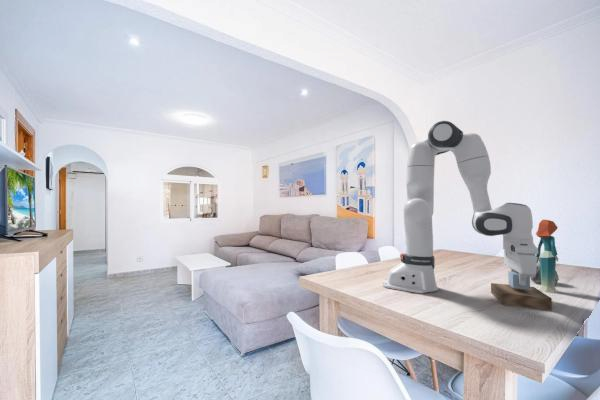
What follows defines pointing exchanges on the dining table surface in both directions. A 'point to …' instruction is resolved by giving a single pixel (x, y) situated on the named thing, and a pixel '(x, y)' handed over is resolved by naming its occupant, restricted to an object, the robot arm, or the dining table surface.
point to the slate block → (514, 281)
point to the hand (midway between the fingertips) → (518, 282)
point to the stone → (537, 276)
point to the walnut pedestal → (521, 296)
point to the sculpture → (547, 255)
